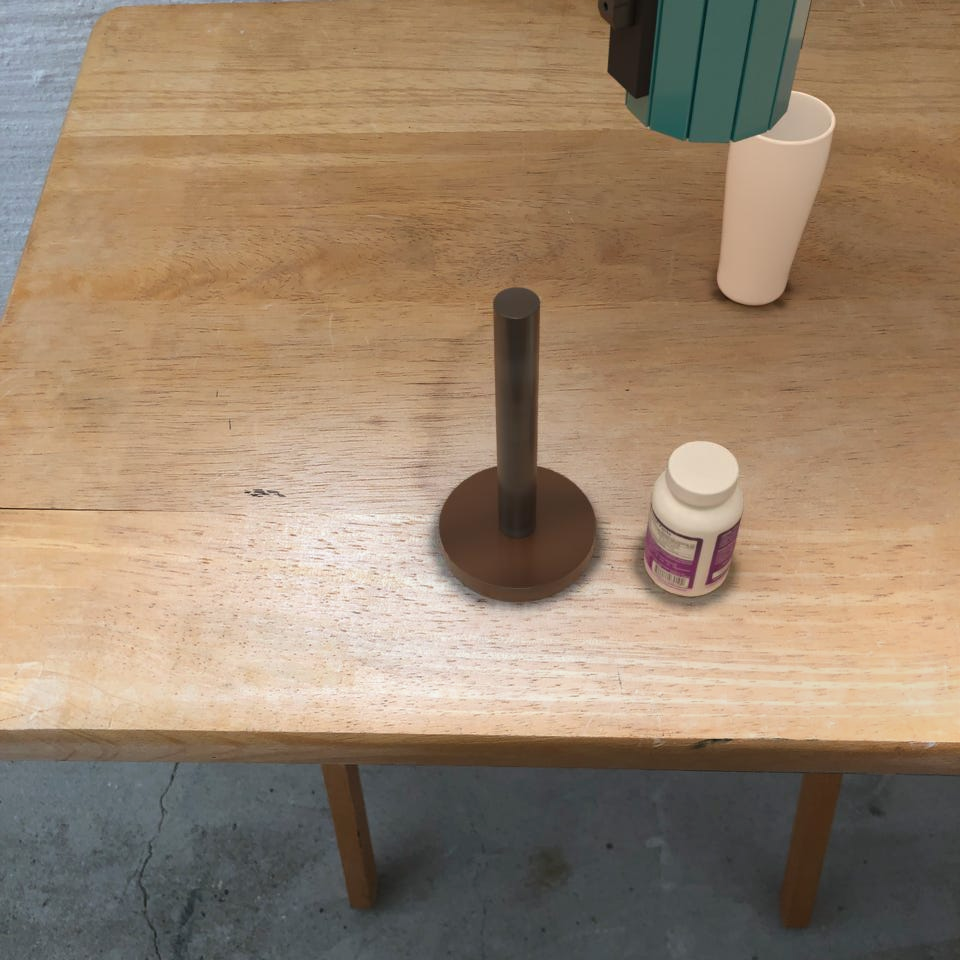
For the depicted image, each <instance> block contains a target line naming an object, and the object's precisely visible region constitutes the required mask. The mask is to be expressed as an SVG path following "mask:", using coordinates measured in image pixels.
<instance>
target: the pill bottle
mask: <svg viewBox="0 0 960 960" xmlns="http://www.w3.org/2000/svg"><path fill="white" fill-rule="evenodd" d="M738 463H739V462H738V461H737V459H736V457H735V455H734V454H733V453H732V452H731V451H729V449H727V448H726V447H724V446H722V445H720V444H718V443H715V442H712V441H706V440H694V441H689V442H685V443H684V444H681V445H680V446H678V447H677V448H676V449H674V450H673V452H672V453H671V454H670V455H669V459H668V462H667V466H666V469H664V471H663V472H661V473H660V474H659V476H658V477H657V479H656V480H655V482H654V484H653V487H652V491H651V496H650V503H649V510H648V518H647V526H646V533H645V542H644V548H643V564H644V567H645V570H646V572H647V574H648V576H649V578H651V579H652V580H653V582H654V584H655V585H656V586H658V587H659V588H661V589H663V590H664V591H667V592H668V593H671V594H673V595H674V594H675V595H678V596H683V597H699V596H704V595H707V594H709V593H711V592H712V591H714V590H716V589H718V588H719V587H720V586H721V585H722V584H723V583H724V581H725V579H726V578H727V576H728V574H729V570H730V567H731V563H732V560H733V556H734V555H733V554H734V551H735V547H736V543H737V538H738V534H739V530H740V527H741V521H742V516H743V513H744V507H745V496H744V492H743V489H742V487H741V485H740V483H739V474H740V468H739V464H738Z"/></svg>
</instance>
